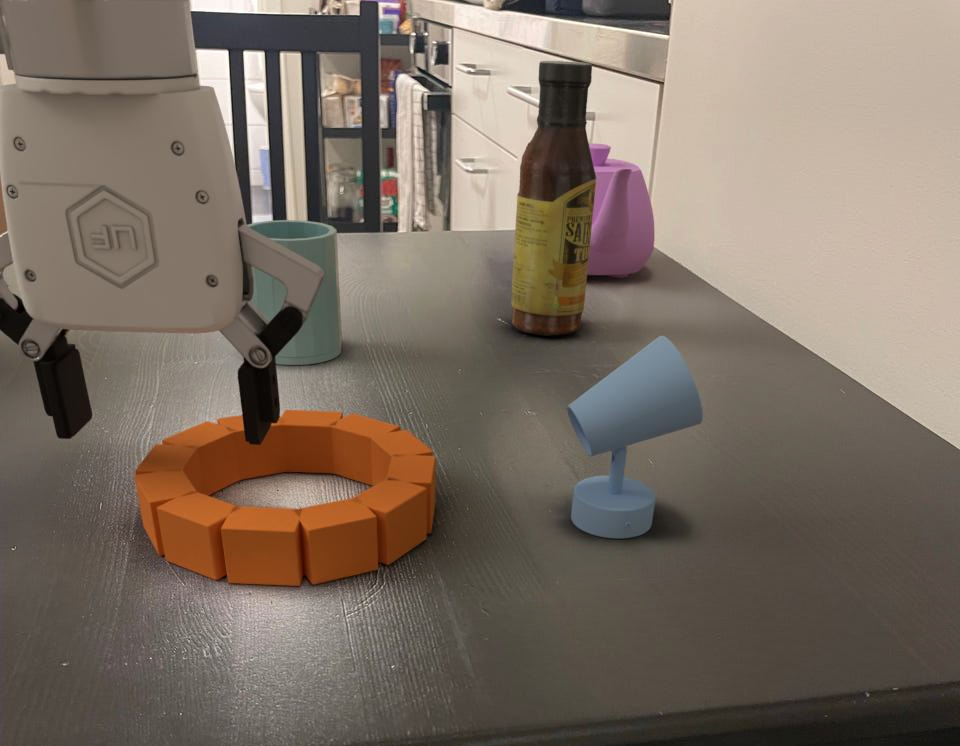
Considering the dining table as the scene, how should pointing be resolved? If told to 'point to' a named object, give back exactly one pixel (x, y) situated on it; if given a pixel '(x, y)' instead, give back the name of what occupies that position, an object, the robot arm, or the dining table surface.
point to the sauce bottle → (555, 207)
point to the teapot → (619, 217)
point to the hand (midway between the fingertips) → (167, 432)
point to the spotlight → (629, 435)
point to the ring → (282, 531)
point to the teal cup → (324, 318)
